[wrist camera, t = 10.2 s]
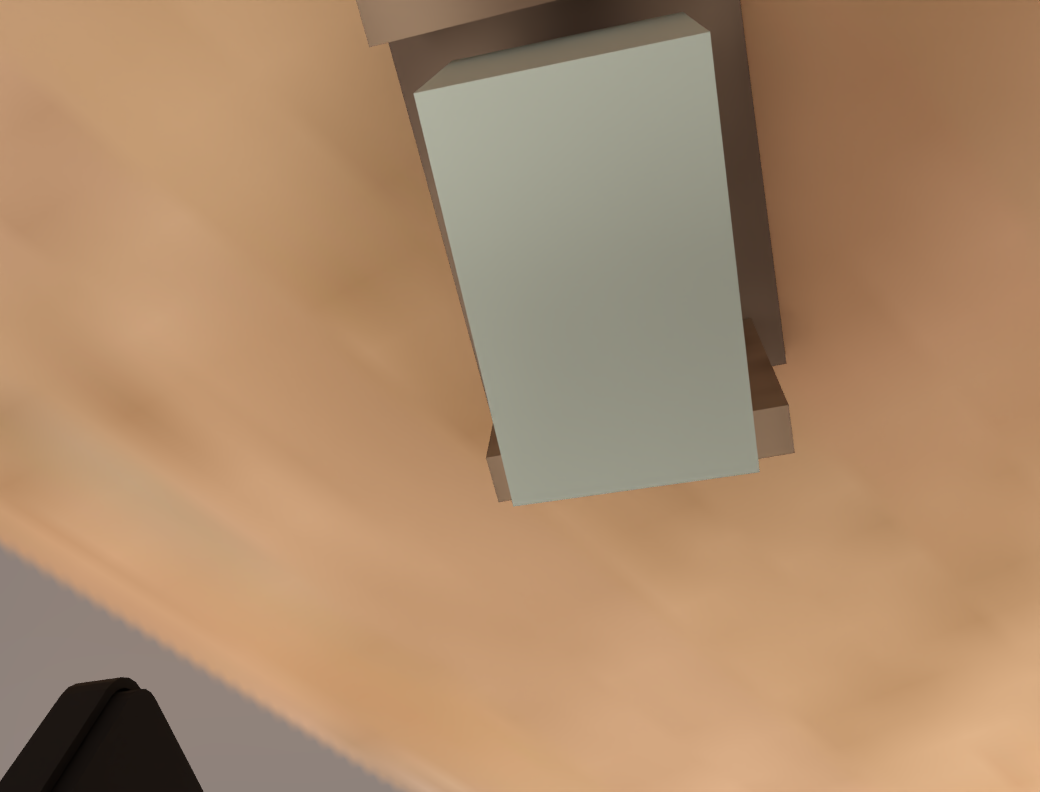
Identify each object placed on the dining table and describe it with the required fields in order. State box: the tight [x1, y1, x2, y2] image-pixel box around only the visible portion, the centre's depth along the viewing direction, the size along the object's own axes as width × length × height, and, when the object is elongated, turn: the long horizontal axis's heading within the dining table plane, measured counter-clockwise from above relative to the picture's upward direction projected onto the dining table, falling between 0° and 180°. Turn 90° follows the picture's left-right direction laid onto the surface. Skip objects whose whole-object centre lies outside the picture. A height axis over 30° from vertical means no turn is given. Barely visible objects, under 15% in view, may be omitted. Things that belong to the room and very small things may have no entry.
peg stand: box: [356, 0, 795, 502], centre depth 29 cm, size 11×16×8 cm
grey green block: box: [413, 12, 760, 506], centre depth 24 cm, size 6×10×6 cm, turn 12°
